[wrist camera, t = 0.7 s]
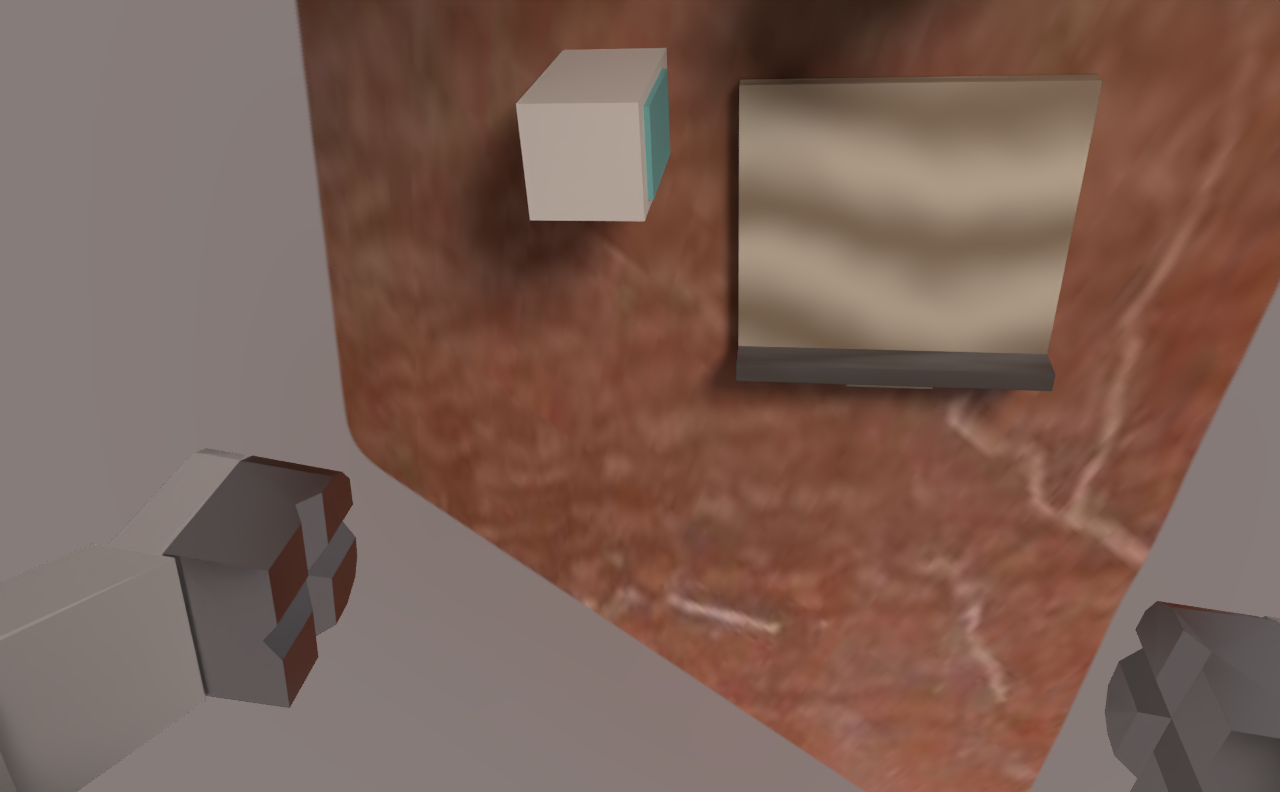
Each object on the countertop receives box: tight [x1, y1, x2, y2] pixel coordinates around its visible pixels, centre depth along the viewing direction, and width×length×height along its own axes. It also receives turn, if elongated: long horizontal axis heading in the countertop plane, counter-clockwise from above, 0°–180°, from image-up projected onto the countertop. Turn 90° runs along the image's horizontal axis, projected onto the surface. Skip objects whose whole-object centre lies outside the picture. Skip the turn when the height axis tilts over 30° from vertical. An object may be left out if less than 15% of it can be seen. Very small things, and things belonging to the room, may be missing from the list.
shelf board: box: [736, 74, 1103, 391], centre depth 47 cm, size 15×16×3 cm
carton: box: [516, 48, 670, 221], centre depth 44 cm, size 5×5×9 cm
